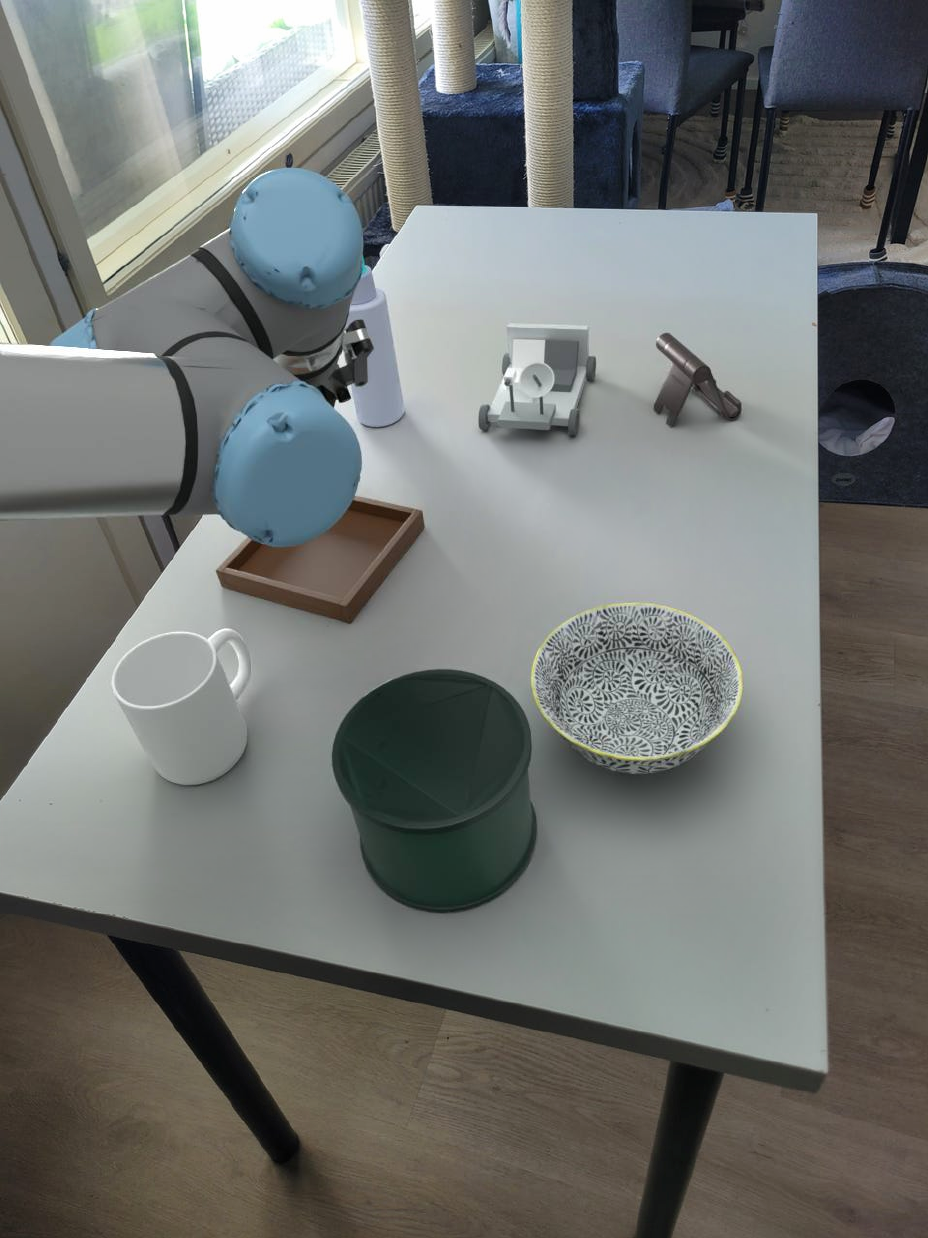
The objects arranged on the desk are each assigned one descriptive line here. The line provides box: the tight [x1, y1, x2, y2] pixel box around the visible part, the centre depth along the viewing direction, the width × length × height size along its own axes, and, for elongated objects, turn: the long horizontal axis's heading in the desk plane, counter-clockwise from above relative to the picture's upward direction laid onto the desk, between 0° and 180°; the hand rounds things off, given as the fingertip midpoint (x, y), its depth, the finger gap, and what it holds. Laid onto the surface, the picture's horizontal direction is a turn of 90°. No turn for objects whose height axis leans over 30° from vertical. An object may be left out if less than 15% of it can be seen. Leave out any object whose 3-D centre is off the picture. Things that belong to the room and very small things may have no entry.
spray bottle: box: [342, 254, 405, 428], centre depth 108 cm, size 6×6×22 cm
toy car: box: [477, 322, 597, 436], centre depth 110 cm, size 18×10×12 cm
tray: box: [215, 495, 426, 624], centre depth 96 cm, size 16×16×2 cm
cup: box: [110, 628, 252, 786], centre depth 77 cm, size 8×12×10 cm
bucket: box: [331, 668, 538, 914], centre depth 67 cm, size 14×14×11 cm
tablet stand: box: [652, 332, 743, 427], centre depth 107 cm, size 9×8×8 cm
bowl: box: [530, 602, 744, 775], centre depth 73 cm, size 16×16×8 cm
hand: (283, 419), depth 89 cm, fingers closed on silver cup, 7 cm apart
